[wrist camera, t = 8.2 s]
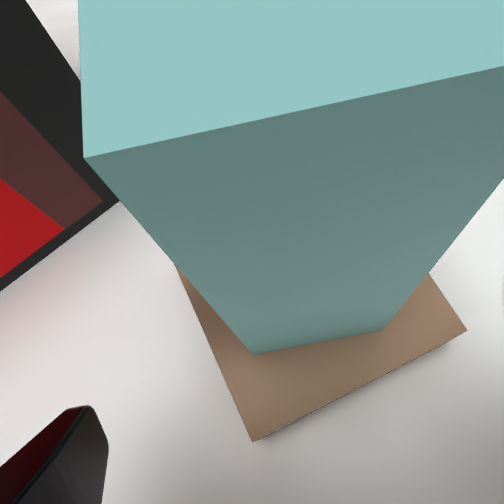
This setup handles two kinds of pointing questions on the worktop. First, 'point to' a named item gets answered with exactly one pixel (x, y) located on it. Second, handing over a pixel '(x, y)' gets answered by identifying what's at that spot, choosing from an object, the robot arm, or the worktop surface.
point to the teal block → (296, 147)
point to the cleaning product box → (40, 147)
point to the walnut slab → (322, 359)
